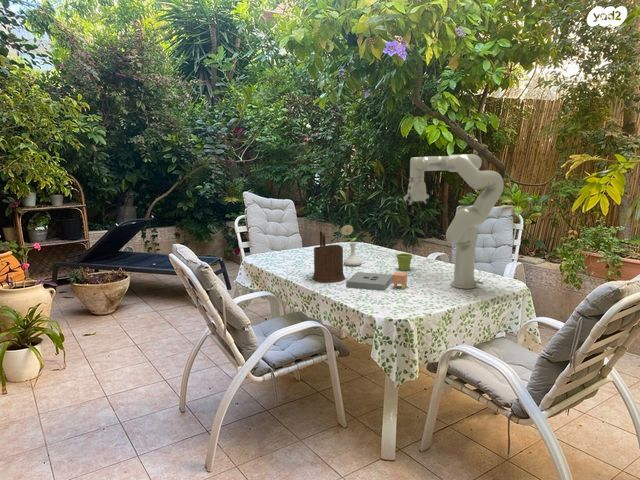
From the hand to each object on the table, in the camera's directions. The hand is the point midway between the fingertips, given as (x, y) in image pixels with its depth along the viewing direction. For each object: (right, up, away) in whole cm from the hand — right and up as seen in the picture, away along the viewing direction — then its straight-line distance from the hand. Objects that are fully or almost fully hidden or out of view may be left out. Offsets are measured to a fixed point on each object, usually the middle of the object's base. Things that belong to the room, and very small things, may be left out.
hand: (416, 211), depth 245 cm
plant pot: (-4, -33, +17) cm, 37 cm away
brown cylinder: (-49, -37, +3) cm, 61 cm away
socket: (-27, -39, -11) cm, 48 cm away
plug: (-12, -40, -19) cm, 46 cm away
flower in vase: (-34, -31, +30) cm, 55 cm away
